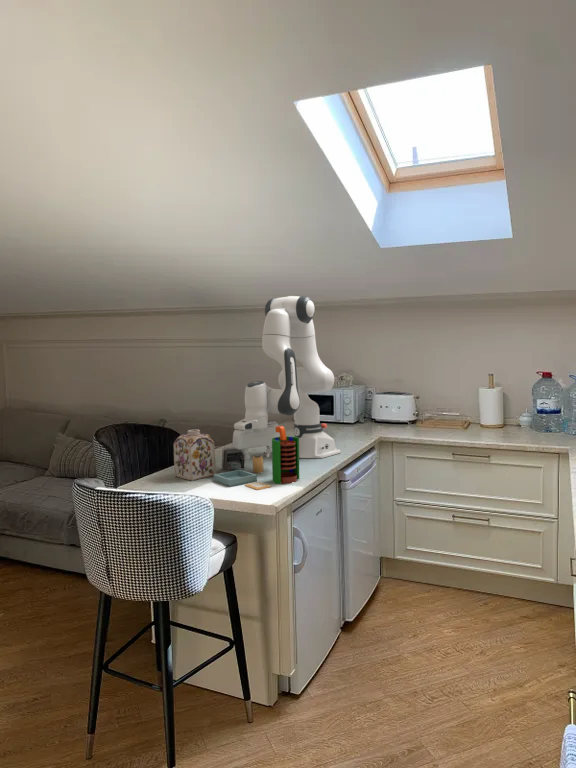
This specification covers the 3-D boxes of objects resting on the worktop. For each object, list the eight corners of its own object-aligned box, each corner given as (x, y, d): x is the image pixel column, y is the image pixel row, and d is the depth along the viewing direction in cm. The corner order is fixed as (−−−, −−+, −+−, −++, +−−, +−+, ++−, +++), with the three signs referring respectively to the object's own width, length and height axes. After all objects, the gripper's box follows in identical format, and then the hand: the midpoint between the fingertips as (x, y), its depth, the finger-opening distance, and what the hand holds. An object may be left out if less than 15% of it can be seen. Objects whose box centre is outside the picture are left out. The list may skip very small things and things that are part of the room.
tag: (258, 482, 217) (258, 481, 217) (271, 487, 210) (271, 485, 210) (244, 485, 213) (244, 484, 213) (257, 490, 207) (257, 488, 207)
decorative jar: (216, 475, 230) (214, 429, 228) (191, 481, 222) (189, 433, 221) (198, 471, 239) (196, 426, 237) (173, 476, 231) (171, 430, 229)
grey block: (235, 473, 233) (235, 460, 233) (241, 475, 230) (240, 462, 230) (226, 475, 231) (226, 462, 230) (232, 476, 228) (231, 464, 227)
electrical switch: (243, 466, 245) (242, 444, 244) (247, 470, 241) (247, 447, 239) (221, 469, 242) (220, 446, 240) (225, 472, 237) (224, 450, 235)
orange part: (259, 470, 237) (259, 453, 237) (265, 471, 234) (264, 455, 234) (251, 471, 235) (250, 455, 235) (256, 473, 232) (256, 456, 231)
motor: (287, 485, 212) (285, 429, 211) (267, 482, 217) (265, 428, 216) (302, 479, 221) (301, 425, 219) (283, 476, 226) (281, 424, 224)
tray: (240, 476, 228) (239, 469, 228) (257, 481, 219) (256, 474, 219) (213, 481, 221) (213, 474, 221) (230, 487, 212) (229, 480, 212)
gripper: (273, 420, 241) (273, 453, 242) (230, 424, 229) (231, 460, 230) (282, 421, 236) (283, 456, 237) (239, 426, 224) (239, 462, 225)
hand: (257, 458), depth 234 cm, fingers open, 8 cm apart
